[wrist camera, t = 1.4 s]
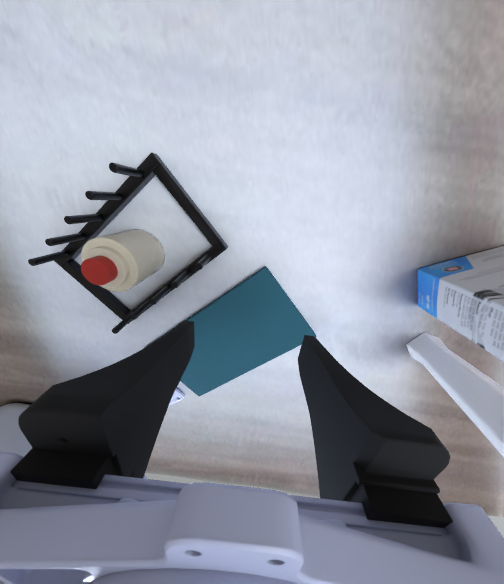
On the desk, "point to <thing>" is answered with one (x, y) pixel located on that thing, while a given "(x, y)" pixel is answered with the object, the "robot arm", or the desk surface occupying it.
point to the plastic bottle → (12, 430)
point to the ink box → (468, 297)
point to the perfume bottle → (464, 386)
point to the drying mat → (242, 332)
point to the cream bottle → (121, 259)
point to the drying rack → (108, 213)
